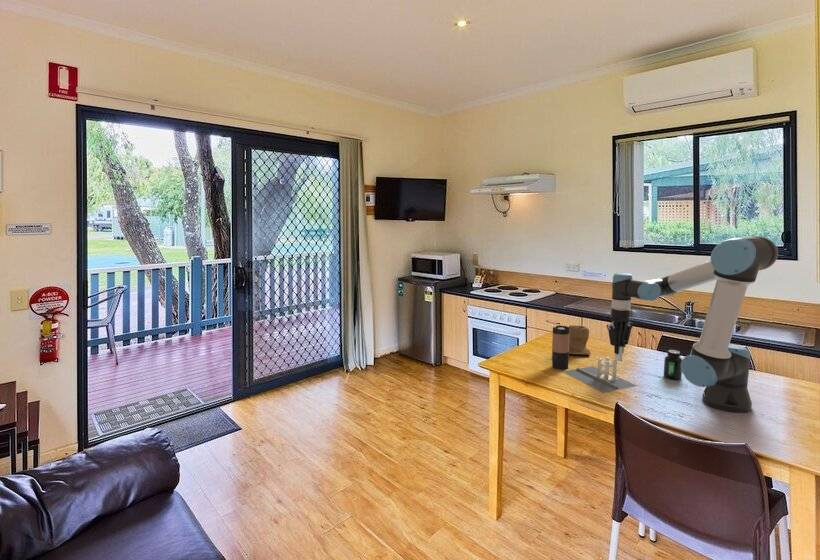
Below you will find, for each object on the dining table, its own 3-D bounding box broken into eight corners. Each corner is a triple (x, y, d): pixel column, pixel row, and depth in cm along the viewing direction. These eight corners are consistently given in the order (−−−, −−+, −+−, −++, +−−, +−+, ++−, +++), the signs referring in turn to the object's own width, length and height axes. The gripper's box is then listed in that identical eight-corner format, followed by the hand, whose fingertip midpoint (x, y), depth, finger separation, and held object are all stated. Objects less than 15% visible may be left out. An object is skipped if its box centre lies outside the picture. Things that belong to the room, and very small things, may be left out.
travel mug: (569, 371, 201) (570, 329, 198) (552, 370, 202) (553, 329, 199) (567, 365, 208) (568, 325, 205) (550, 364, 210) (551, 325, 207)
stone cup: (588, 350, 230) (589, 323, 228) (592, 357, 218) (593, 329, 216) (558, 349, 233) (559, 322, 231) (561, 356, 222) (561, 328, 220)
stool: (617, 380, 187) (618, 360, 186) (606, 382, 185) (607, 362, 184) (606, 375, 193) (607, 356, 192) (596, 377, 191) (596, 358, 190)
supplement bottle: (672, 381, 185) (674, 354, 184) (659, 375, 192) (661, 350, 190) (685, 379, 187) (687, 352, 186) (671, 373, 194) (673, 348, 192)
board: (637, 386, 181) (637, 383, 181) (603, 393, 175) (603, 390, 175) (593, 366, 205) (593, 364, 205) (561, 372, 200) (561, 369, 199)
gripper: (625, 305, 192) (623, 355, 196) (602, 308, 188) (600, 359, 192) (639, 308, 185) (636, 361, 189) (615, 311, 181) (613, 365, 185)
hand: (618, 360), depth 190 cm, fingers closed
